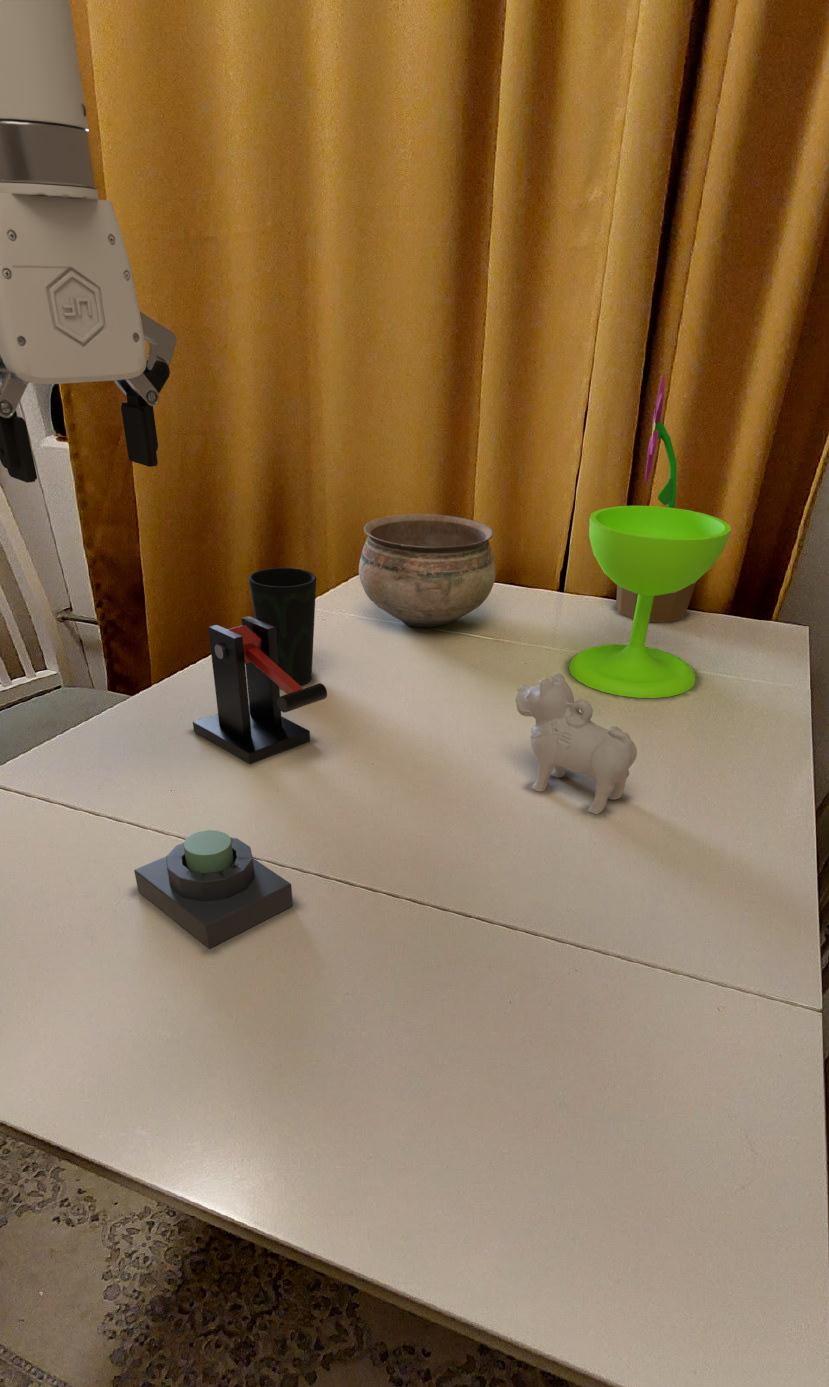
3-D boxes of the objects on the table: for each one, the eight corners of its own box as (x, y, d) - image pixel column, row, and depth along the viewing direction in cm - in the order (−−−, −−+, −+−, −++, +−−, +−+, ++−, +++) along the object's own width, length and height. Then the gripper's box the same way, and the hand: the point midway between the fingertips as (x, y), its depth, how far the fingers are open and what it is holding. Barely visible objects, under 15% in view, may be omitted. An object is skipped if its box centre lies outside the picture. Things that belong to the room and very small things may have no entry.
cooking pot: (505, 652, 116) (514, 555, 109) (363, 652, 115) (362, 554, 107) (478, 593, 136) (484, 508, 128) (356, 593, 134) (355, 507, 127)
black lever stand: (310, 740, 94) (305, 631, 86) (249, 764, 89) (238, 650, 82) (253, 711, 99) (244, 606, 92) (193, 731, 94) (179, 622, 87)
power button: (177, 860, 68) (174, 841, 67) (215, 843, 70) (213, 825, 69) (203, 879, 66) (201, 860, 65) (242, 862, 68) (240, 843, 67)
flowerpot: (603, 592, 138) (638, 369, 120) (696, 601, 136) (746, 374, 118) (600, 622, 127) (638, 380, 109) (702, 631, 125) (758, 387, 107)
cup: (244, 677, 107) (234, 576, 99) (291, 661, 111) (286, 563, 104) (285, 696, 103) (278, 591, 95) (333, 678, 107) (330, 577, 100)
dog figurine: (524, 759, 92) (536, 660, 85) (635, 798, 86) (656, 694, 79) (496, 777, 88) (505, 675, 82) (608, 819, 82) (628, 712, 76)
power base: (137, 892, 71) (129, 850, 68) (220, 855, 76) (215, 815, 73) (209, 949, 65) (203, 906, 63) (293, 906, 70) (290, 864, 68)
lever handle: (325, 705, 87) (329, 685, 85) (285, 719, 84) (288, 698, 82) (254, 641, 91) (256, 621, 89) (213, 653, 88) (215, 632, 86)
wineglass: (714, 669, 113) (751, 520, 102) (665, 709, 103) (699, 548, 92) (602, 641, 121) (625, 499, 110) (545, 675, 110) (564, 522, 99)
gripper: (-89, 152, 48) (-6, 495, 58) (184, 177, 57) (212, 466, 68) (-138, 157, 52) (-53, 476, 62) (124, 179, 62) (160, 451, 72)
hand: (85, 471), depth 65 cm, fingers open, 9 cm apart
